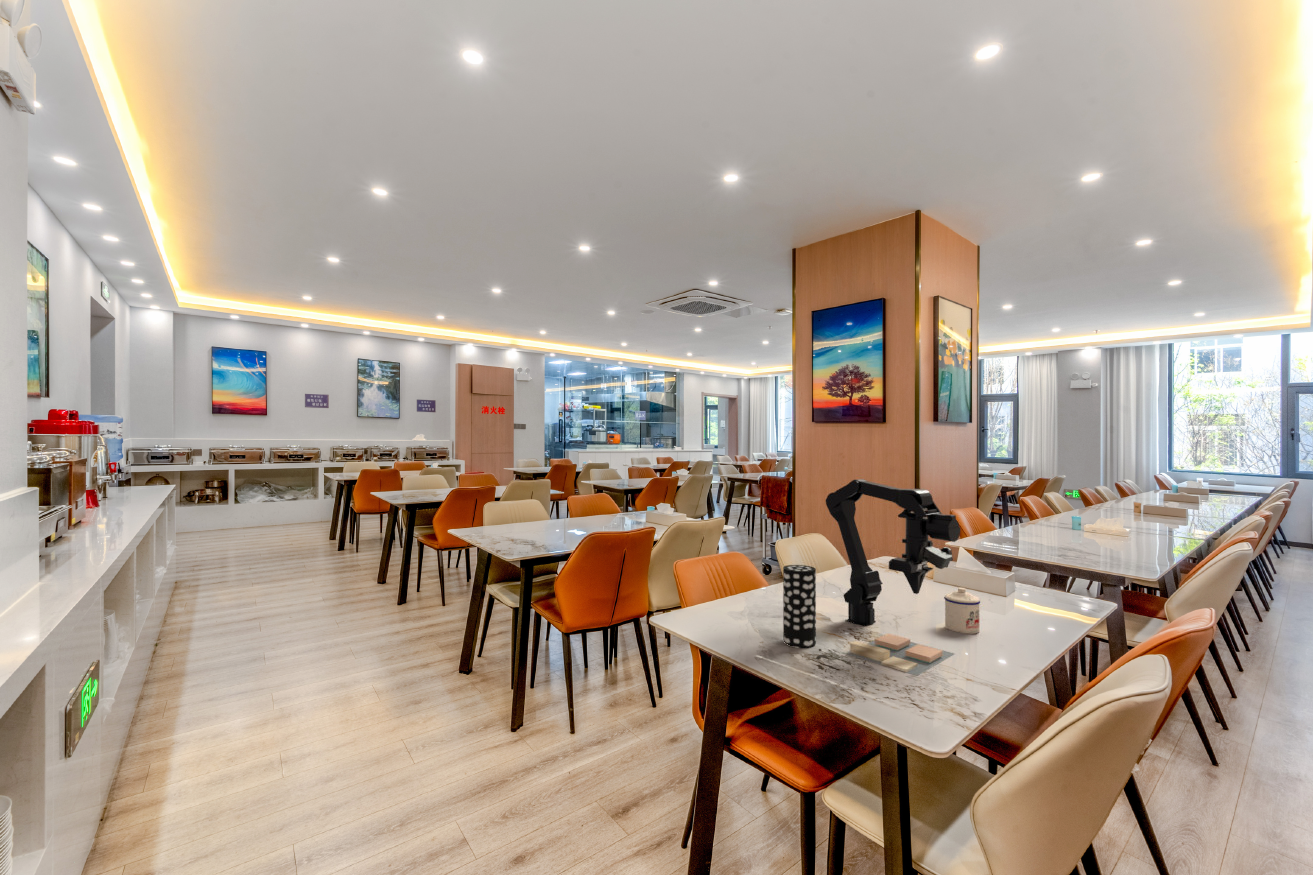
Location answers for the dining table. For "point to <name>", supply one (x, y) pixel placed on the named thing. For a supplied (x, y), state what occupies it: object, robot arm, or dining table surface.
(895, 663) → the cream stepped block
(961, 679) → the dining table surface
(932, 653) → the tile right
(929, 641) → the dining table surface
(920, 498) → the robot arm
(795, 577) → the spotted tube
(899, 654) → the mat
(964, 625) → the teacup with lid
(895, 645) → the tile left
